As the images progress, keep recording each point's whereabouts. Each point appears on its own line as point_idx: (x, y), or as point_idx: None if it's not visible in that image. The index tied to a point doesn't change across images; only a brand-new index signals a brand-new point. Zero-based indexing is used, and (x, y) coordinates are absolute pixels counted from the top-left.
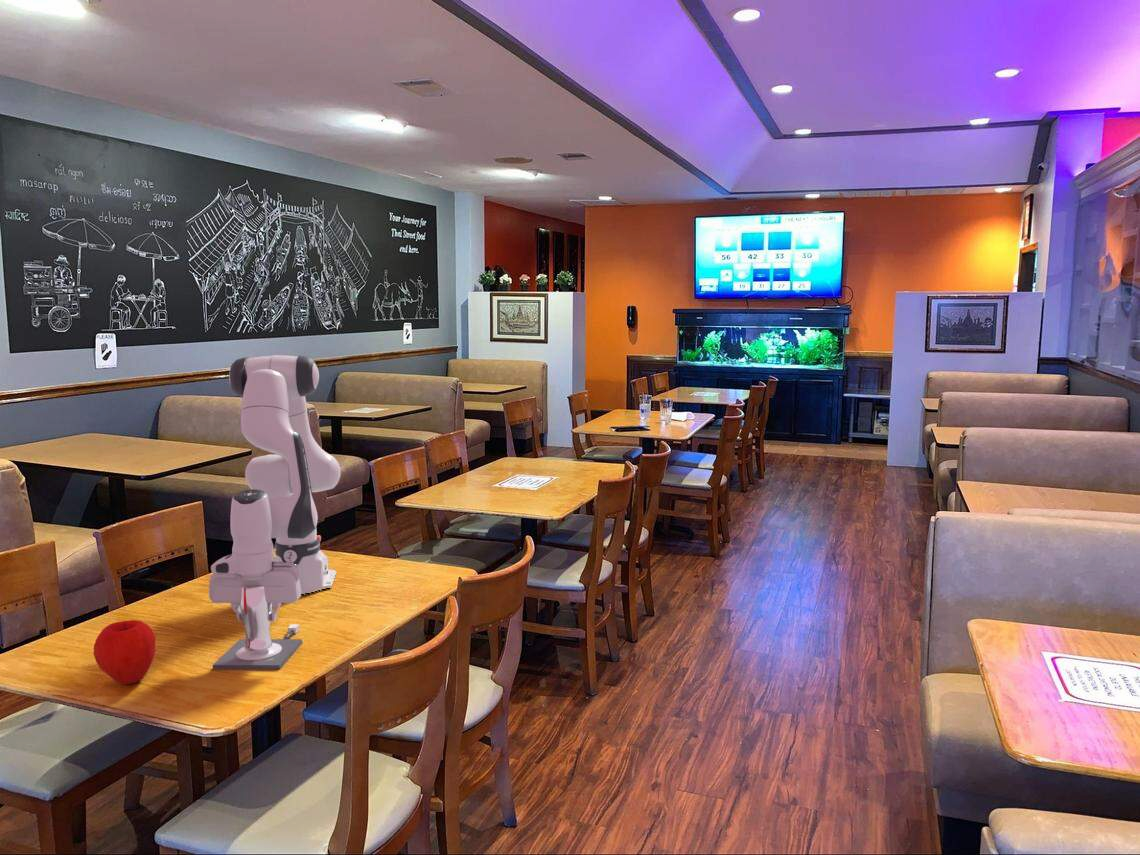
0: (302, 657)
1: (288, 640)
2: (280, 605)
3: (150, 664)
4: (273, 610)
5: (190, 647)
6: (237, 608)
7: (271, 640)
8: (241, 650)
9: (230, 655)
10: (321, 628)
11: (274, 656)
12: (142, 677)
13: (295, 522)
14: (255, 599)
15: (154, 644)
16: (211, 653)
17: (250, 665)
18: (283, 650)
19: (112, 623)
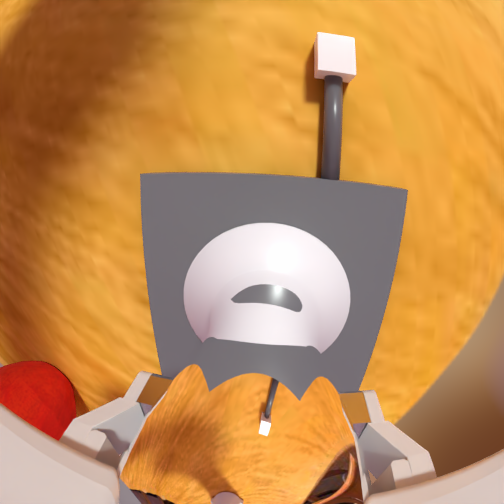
0: (412, 313)
1: (357, 197)
2: (420, 448)
3: (70, 411)
4: (370, 469)
5: (38, 214)
6: (120, 441)
7: (319, 321)
8: (196, 298)
9: (176, 326)
10: (421, 48)
11: (334, 346)
12: (73, 394)
13: None
14: None
15: (53, 436)
16: (101, 262)
17: None
18: (357, 300)
19: None
